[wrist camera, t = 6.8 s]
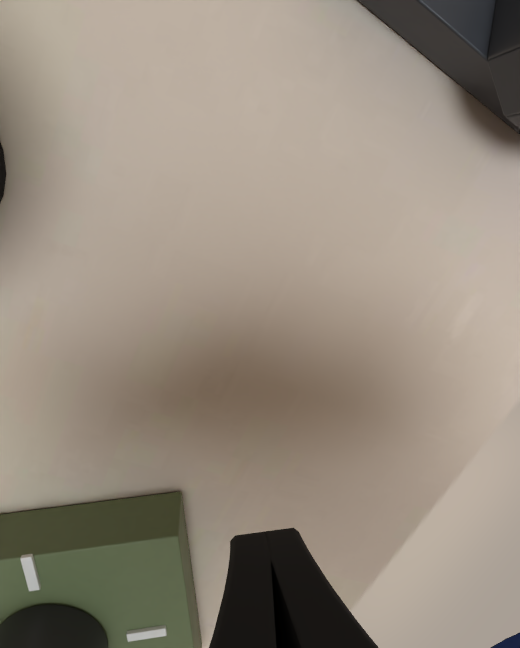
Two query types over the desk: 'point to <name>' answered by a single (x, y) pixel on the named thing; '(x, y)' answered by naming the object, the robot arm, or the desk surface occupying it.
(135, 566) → the panel
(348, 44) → the desk surface
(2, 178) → the cup
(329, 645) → the robot arm
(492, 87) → the power block
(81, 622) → the timer dial
